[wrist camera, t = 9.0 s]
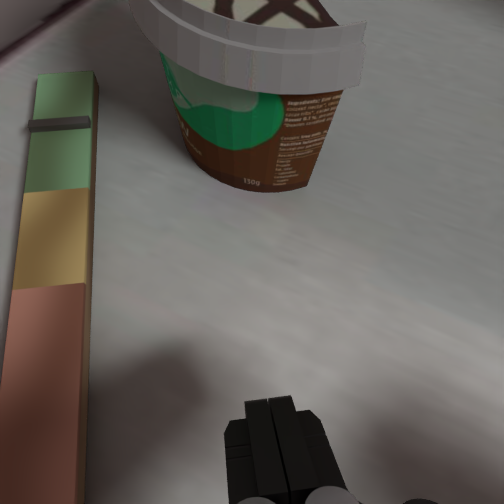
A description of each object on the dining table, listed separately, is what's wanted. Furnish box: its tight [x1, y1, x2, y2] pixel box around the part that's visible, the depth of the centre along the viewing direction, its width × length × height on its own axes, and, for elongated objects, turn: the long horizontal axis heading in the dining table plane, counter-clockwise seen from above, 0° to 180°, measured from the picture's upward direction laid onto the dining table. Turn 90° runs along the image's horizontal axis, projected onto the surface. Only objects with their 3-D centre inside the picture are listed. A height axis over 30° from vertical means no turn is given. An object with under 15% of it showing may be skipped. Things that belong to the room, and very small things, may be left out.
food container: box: [129, 0, 367, 193], centre depth 19 cm, size 12×6×10 cm, turn 24°
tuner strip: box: [0, 71, 99, 504], centre depth 19 cm, size 3×24×2 cm, turn 7°
